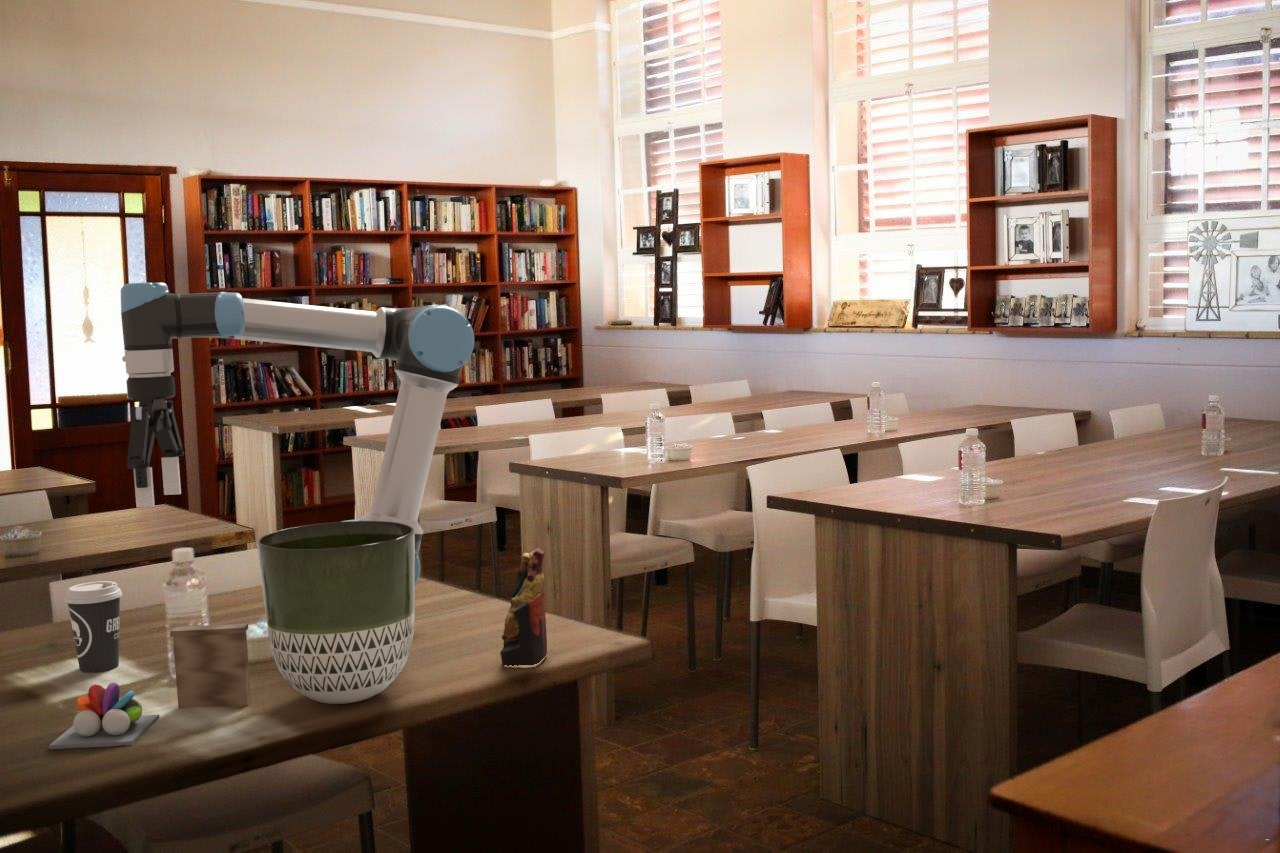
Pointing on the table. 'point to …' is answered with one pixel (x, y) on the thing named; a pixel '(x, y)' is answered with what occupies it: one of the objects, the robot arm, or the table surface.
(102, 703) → the rainbow petal cluster
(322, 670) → the planter
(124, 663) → the table surface
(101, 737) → the pad
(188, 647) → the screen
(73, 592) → the coffee cup
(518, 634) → the statue
